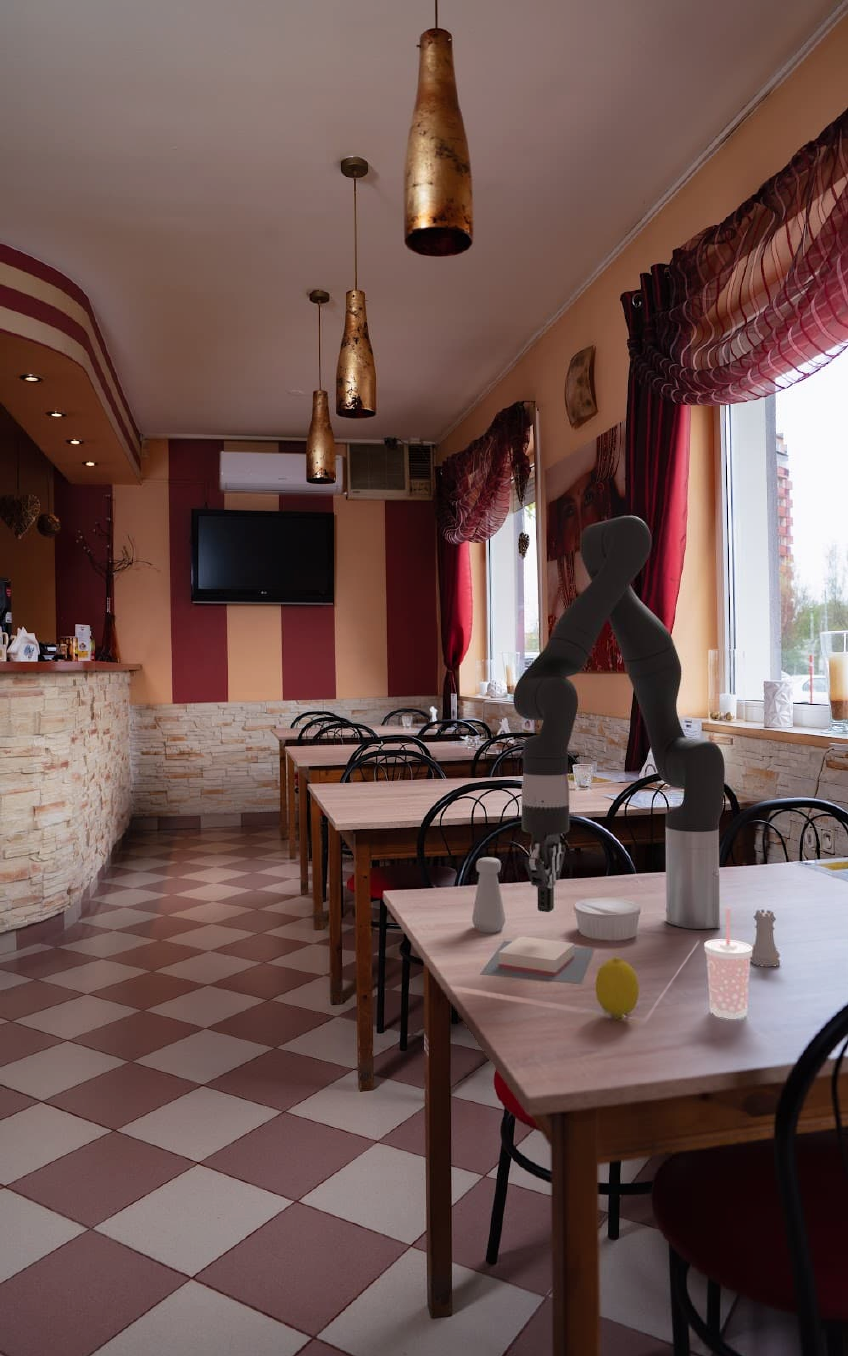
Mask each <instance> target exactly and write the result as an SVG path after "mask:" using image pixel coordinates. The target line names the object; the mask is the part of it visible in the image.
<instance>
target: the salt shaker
mask: <svg viewBox="0 0 848 1356" xmlns="http://www.w3.org/2000/svg"><path fill="white" fill-rule="evenodd" d="M501 867H502V863H501V860H500V859H498V858H496V857H492V856H490V857H489V856H486V857H484V856H483V857H481V858H479V859H478V860H477V861H476V863H475V869H476V872H478V873H479V875H478V881H477V886H476V887H477V888H476V893H475V899H474V900H475V901H474V904H473V905H474V906H473V912H472V917H471V918H472V919H471V920H472V923H473V926H474V929H475V930H476V931H478V932H480V933H484V934H495V933H498V932H502V930H503V928H504V926H505V922H506V914H505V913H506V912H505V908H504V905H503V899H502V894H501V893H502V892H501V888H500V884H499V878H498V877H499V876H498V873H500V872H501V869H502V868H501Z"/></svg>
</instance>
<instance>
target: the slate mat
mask: <svg viewBox="0 0 848 1356" xmlns="http://www.w3.org/2000/svg"><path fill="white" fill-rule="evenodd" d="M512 942H513V941H510V940H504V941H503V942H502V943H501V944H500V945H499V947H498V949H496V951H495V953H494V954H493V955H492V957H491V958H490V960H489V961H488V962H487V964H486V965H485V967H484V968H483V969H482V971H481V972H480V973H479V975H483V976H484V975H485V976H494V977H505V978H513V979H525V980H535V981H536V980H537V981H546V982H553V983H554V982H556V983H566V984H567V983H568V984H575V985H576V984H577V985H582V983H583V980H584V978H585V974H586V973H587V970H588V967H589V965H590V962H591V961H592V956H593V954H594V952H595V948H591V947H582V946H580V947H579V946H574V959H573V960H572V961H571V962H570V963H569V964H568V965H567V966H566V967H565V968H564V969H563V970H562V971H561V972H560V973H559V974H557V975H556V976H548V975H542V974H536V973H529V972H523V971H517V970H510V969H504V968H499V951H501V950H502V949H503V948H505V947H506V946H507V945H509V944H510V943H512Z"/></svg>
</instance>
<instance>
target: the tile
mask: <svg viewBox="0 0 848 1356" xmlns="http://www.w3.org/2000/svg"><path fill="white" fill-rule="evenodd" d="M511 942H512V943H510V944H509V945H507V946H506V947H505V948H503V949H502V950H501V951H499V968H504V969H510V970H517V971H523V972H529V973H536V974H542V975H548V976H556V975H557V974H559V973H560V972H561V971H562V970H563V969H564V968H565V967H566V966H567V965H568V964H569V963H570V962H571V961H572V960H573V959H574V947H575V944H574V943H572V942H565V941H558V940H550V939H543V938H536V937H530V936H529V937H528V936H522V935H521V936H518V937H517V938H515V939H514V940H513V941H511Z"/></svg>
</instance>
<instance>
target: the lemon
mask: <svg viewBox="0 0 848 1356" xmlns="http://www.w3.org/2000/svg"><path fill="white" fill-rule="evenodd" d="M639 991H640V988H639V981H638V977H637V974H636V972H635V969H634V967H632V966H631V964H629V963H627V962H626V961H624V960H622V959H620V957H614V958H613V959H611V960H608V961H606V962H605V963H603V964H602V966H601V967H600V968H599V970H598V971H597V975H596V979H595V995H596V998H597V1002H598V1003H599V1005H600V1006H601V1008H602V1009H603V1010H604V1011H605V1012H607V1013H608V1014H610V1015H612V1017H613V1018H615V1019H617V1020H619V1019H621V1018H622V1016H623V1015H627V1014H629V1013H631V1011H632V1010H633V1009H634V1008H635V1006H637V1005H636V1004H637V1002H638V998H639V996H640V995H639V993H640V992H639Z"/></svg>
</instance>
